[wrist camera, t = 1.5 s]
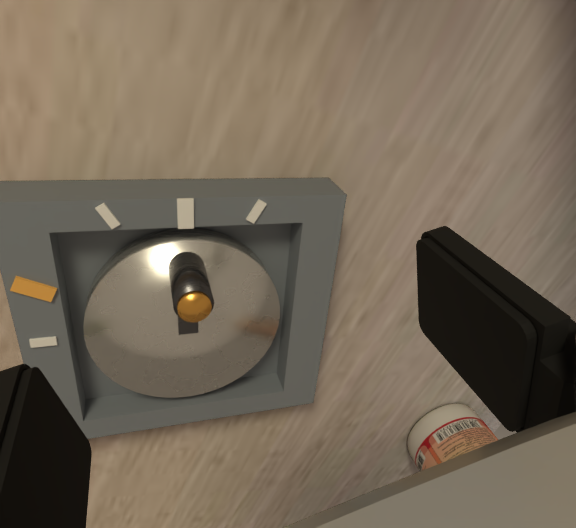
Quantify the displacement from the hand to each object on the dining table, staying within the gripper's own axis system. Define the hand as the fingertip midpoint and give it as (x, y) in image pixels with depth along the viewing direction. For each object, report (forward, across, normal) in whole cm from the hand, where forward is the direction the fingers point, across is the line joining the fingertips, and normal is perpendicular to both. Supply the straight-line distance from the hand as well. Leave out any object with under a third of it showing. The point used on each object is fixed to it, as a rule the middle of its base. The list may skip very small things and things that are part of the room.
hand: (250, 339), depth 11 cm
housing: (+23, +4, +13) cm, 26 cm away
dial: (+21, +4, +13) cm, 25 cm away
